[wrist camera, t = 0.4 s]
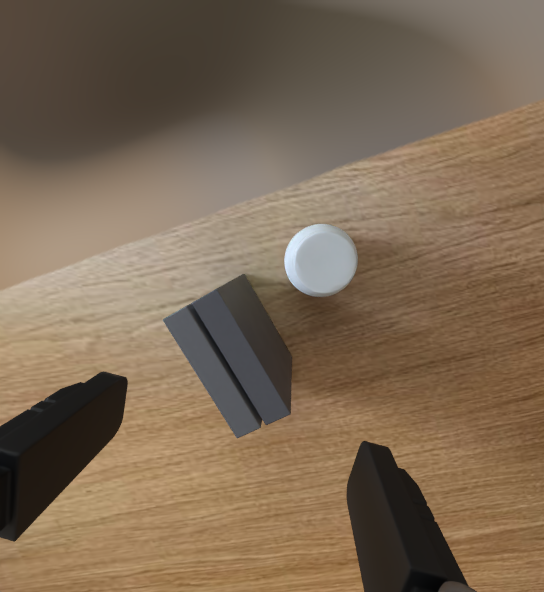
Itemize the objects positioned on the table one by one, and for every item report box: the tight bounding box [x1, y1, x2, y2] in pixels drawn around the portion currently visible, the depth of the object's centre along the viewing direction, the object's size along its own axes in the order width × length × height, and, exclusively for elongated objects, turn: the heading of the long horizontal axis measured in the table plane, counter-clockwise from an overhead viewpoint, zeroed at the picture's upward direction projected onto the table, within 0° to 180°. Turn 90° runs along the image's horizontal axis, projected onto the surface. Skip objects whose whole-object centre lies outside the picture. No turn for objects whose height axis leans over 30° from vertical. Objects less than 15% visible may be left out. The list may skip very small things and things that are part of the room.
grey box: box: [163, 274, 292, 438], centre depth 24 cm, size 10×4×10 cm, turn 29°
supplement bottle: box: [285, 224, 358, 297], centre depth 22 cm, size 5×5×10 cm
